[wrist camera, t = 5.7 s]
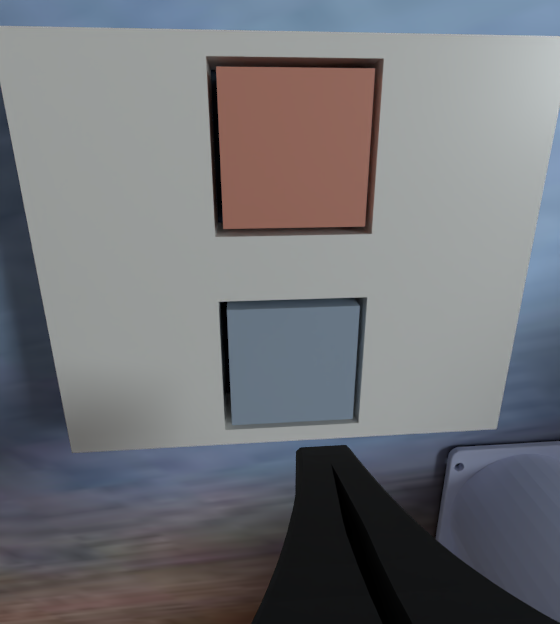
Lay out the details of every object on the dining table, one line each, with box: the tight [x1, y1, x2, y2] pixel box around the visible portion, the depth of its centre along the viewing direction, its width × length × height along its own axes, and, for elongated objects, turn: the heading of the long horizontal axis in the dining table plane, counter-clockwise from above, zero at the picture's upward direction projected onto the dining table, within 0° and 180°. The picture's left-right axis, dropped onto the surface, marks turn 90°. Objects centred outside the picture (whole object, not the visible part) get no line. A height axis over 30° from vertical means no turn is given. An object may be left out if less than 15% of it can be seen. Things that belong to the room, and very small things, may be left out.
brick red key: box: [216, 66, 375, 229], centre depth 17 cm, size 5×5×3 cm
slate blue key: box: [227, 298, 360, 425], centre depth 19 cm, size 5×5×3 cm
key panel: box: [0, 26, 560, 453], centre depth 18 cm, size 15×18×3 cm
